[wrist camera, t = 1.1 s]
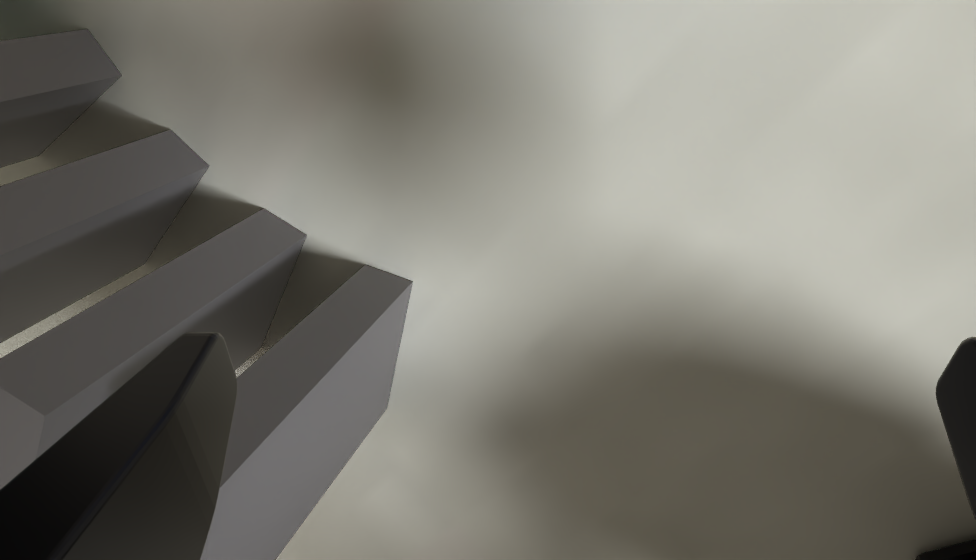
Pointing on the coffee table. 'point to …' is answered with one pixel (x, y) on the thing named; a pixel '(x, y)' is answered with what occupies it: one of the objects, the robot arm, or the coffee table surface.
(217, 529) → the domino
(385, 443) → the coffee table surface
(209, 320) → the domino
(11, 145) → the domino
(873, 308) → the coffee table surface
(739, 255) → the coffee table surface
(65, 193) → the domino
